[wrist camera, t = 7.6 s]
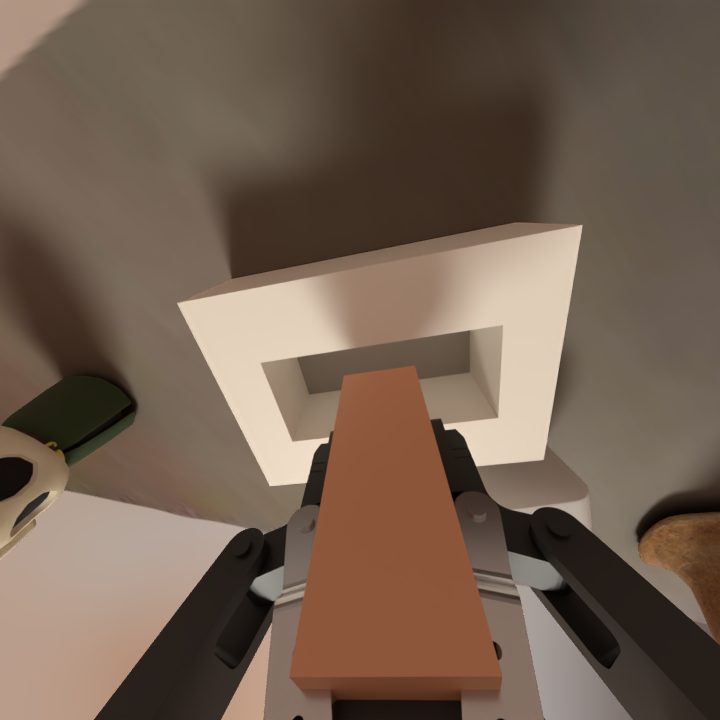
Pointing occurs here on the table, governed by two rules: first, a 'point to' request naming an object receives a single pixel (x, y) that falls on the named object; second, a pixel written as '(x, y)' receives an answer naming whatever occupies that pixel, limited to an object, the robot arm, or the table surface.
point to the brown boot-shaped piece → (689, 557)
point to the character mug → (52, 447)
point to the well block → (397, 340)
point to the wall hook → (538, 487)
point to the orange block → (390, 560)
